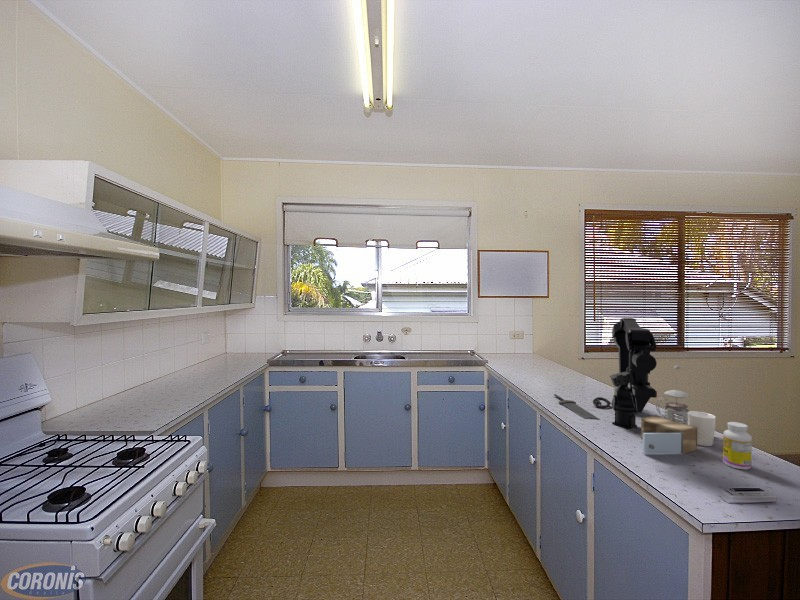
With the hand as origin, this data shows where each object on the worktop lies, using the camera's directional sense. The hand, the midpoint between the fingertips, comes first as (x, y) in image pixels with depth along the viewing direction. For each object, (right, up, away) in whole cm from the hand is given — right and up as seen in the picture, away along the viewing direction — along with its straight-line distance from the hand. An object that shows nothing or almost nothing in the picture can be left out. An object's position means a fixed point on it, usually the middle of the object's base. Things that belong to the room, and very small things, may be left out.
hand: (638, 411), depth 133 cm
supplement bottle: (+22, -13, -14) cm, 29 cm away
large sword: (-2, -12, +46) cm, 47 cm away
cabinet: (+12, -12, +3) cm, 18 cm away
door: (+5, -12, -6) cm, 15 cm away
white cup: (+25, -13, +4) cm, 28 cm away
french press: (+24, -12, +17) cm, 32 cm away
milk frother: (+16, -12, +43) cm, 47 cm away
